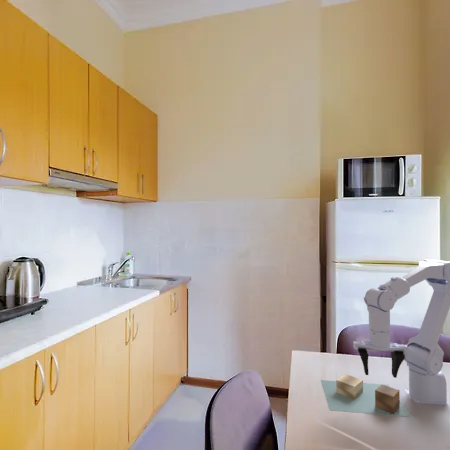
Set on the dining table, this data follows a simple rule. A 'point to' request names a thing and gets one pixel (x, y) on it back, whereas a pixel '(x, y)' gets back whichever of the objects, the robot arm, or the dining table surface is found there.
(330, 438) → the dining table surface
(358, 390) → the maple block
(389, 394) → the walnut cube
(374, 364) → the dining table surface
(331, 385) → the mat
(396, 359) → the robot arm
